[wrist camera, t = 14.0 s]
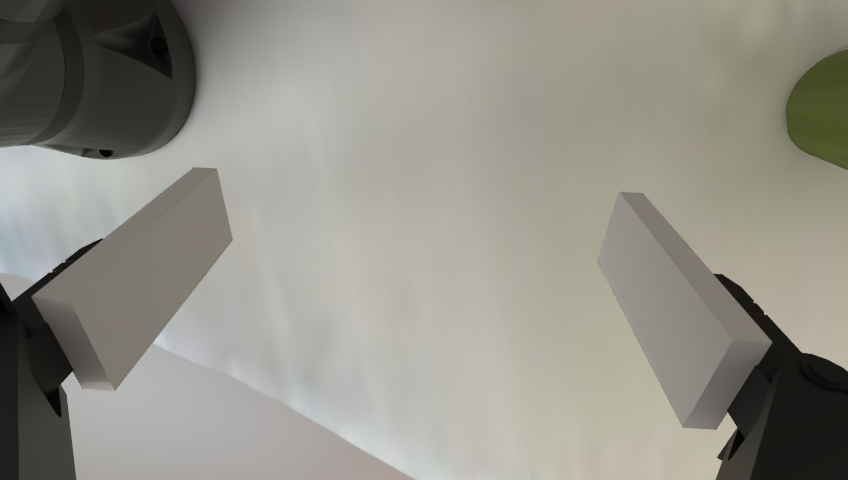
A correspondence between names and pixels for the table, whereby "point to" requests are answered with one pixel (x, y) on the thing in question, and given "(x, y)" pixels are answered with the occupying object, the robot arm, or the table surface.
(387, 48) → the table surface
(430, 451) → the table surface
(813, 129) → the plant pot
